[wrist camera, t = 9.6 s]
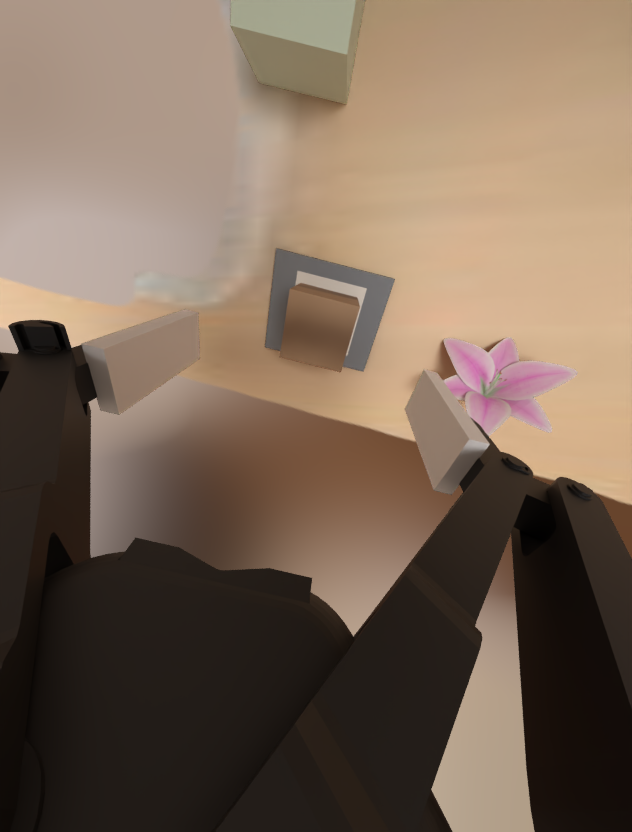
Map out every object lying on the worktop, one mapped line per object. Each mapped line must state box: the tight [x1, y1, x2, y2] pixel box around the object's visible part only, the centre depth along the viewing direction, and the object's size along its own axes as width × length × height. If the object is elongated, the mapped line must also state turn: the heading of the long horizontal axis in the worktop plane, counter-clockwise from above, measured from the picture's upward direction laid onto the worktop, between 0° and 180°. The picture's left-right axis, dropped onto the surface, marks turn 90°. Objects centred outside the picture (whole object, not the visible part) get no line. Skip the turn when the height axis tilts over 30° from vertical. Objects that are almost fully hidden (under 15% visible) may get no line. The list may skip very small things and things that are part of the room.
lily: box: [443, 337, 578, 436], centre depth 27 cm, size 12×12×10 cm
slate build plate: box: [265, 248, 395, 371], centre depth 28 cm, size 10×12×1 cm
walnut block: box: [280, 283, 360, 372], centre depth 26 cm, size 6×6×6 cm
